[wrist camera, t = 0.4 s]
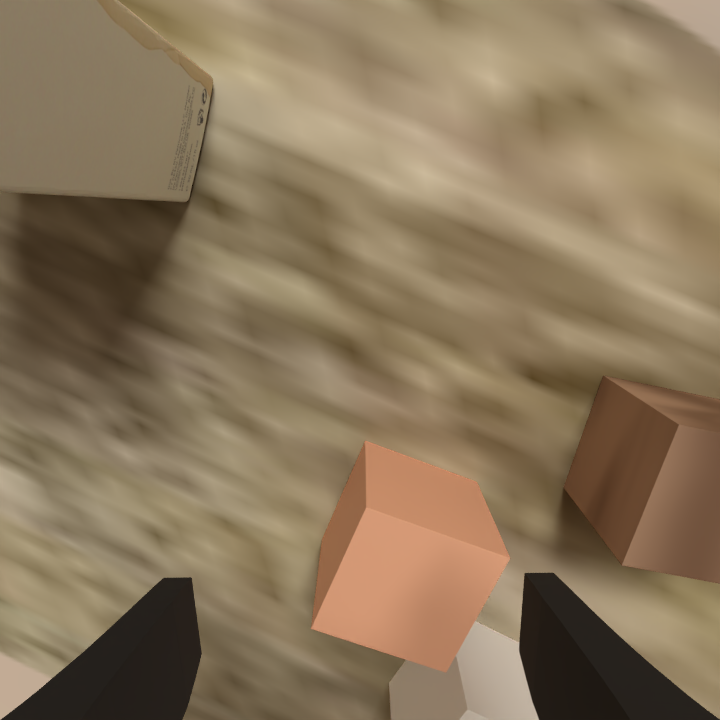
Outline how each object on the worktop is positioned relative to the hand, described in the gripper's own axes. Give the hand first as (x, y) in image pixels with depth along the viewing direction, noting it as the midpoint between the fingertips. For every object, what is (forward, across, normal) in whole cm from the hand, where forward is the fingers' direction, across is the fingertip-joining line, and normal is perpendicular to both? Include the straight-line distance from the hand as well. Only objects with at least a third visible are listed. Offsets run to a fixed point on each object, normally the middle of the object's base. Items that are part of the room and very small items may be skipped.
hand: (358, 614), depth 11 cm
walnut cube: (+10, -11, +1) cm, 15 cm away
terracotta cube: (+10, -2, +4) cm, 11 cm away
